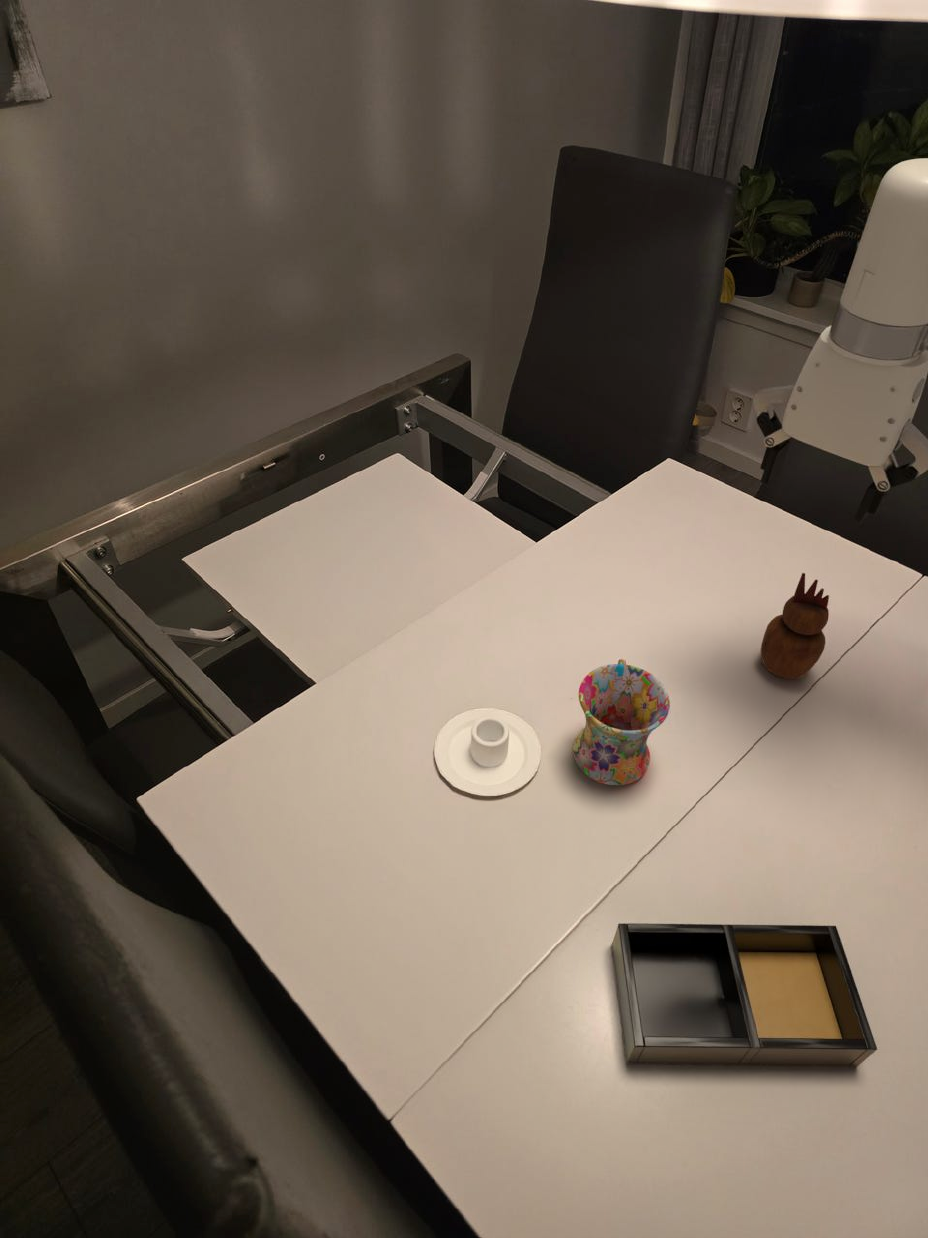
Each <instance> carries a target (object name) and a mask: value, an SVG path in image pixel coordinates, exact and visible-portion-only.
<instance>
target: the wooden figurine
mask: <svg viewBox="0 0 928 1238" xmlns="http://www.w3.org/2000/svg"><path fill="white" fill-rule="evenodd" d="M818 582H819V579H815V580H814V581H813V582H812V583H811V585H810V586H809V588H808V589H807V590H806V573H805V572H802V573H801V576H800V578H799V581H798V582H797V583H798V584H797V586H796V589H795V591H794V595H791V597H790V598H788V600H787V601H786V602H785V603H784V605H783V607H782V614H780V615H776V616H775V617H774V618H772V619H771V620H770V622H768V624H767V626H766V629H765V631H764V635H763V637H762V642H761V645H760V657H761V659H762V663H763V665H764V667H765V668H766V669H767V670H768V671H769V672H770V673H771V674H773V675H774V676H776V677H777V678H778V677H779V678H781V679H785V680H797V679H800V678H802V677H804V676H805V675H807V674H808V672H810V671H811V669H812V668H813V667H814V666H815V665H816V663H817V662H818V661H819V660H820V657H821V656H822V654H823V652H824V650H825V648H826V636H825V634H824V631H823V629H824V628H825V627H826V625H827V624H828V621H829V615H830V614H829V612H830V611H829V608H828V605H829V598H830V595H829V594H827V595H825V596H823V595H824V591H825V588H820V590H819V591H818V592H817V593H816V590H817V586H818ZM805 591H806V592H805Z"/></svg>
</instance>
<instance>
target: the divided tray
mask: <svg viewBox="0 0 928 1238" xmlns="http://www.w3.org/2000/svg"><path fill="white" fill-rule="evenodd" d="M837 927H838V926H837V925H812V924H811V925H809V924H808V925H803V924H797V925H796V924H795V925H794V924H724V923H723V924H720V923H719V924H714V923H713V924H711V923H709V924H708V923H707V924H706V923H638V922H637V923H632V922H631V923H630V922H629V923H620V922H619V923H618V924H617V927H616V930H615V934H614V936H613V939H612V942H611V944H610V945H611V952H612V953H611V954H612V961H613V969H614V976H615V985H616V993H617V1000H618V1009H619V1017H620V1026H621V1032H622V1041H623V1049H624V1056H625V1064H626V1065H645V1066H647V1065H654V1066H655V1065H656V1066H725V1067H726V1066H727V1067H728V1066H732V1067H735V1066H737V1067H748V1066H749V1067H815V1068H817V1067H818V1068H857V1067H859V1066H860V1065H861V1064H863V1063H864V1062H865V1061H866V1060H867V1059H868V1058H870V1057H871V1056H872V1055H873V1054H874V1053H875V1052H876V1051H878V1047H877V1044H876V1041H875V1038H874V1035H873V1032H872V1029H871V1025H870V1023H869V1019H868V1017H867V1014H866V1011H865V1009H864V1008H865V1007H864V1005H863V1002H862V999H861V996H860V993H859V991H858V987H857V984H856V981H855V978H854V975H853V973H852V969H851V966H850V964H849V961H848V957H847V955H846V951H845V948H844V945H843V943H842V939H841V937H840V933H839V930H838V928H837Z"/></svg>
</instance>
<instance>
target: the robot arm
mask: <svg viewBox="0 0 928 1238" xmlns="http://www.w3.org/2000/svg"><path fill="white" fill-rule="evenodd" d="M927 376H928V158H927V157H925V158H923V157H922V158H921V157H920V158H913V159H907V160H904V161H903V160H902V161H901V162H899V163H897V164H895V165H892V167H891V168H890V169H888V170H887V171H886V173H885V174H884V176H883V177H882V179H881V180H880V183H879V186H878V188H877V190H876V192H875V197H874V200H873V202H872V205H871V207H870V211H869V214H868V216H867V220H866V223H865V225H864V229H863V231H862V234H861V238H860V240H859V243H858V247H857V249H856V253H855V255H854V258H853V261H852V264H851V267H850V270H849V273H848V276H847V278H846V281H845V285H844V288H843V291H842V293H841V296H840V299H839V302H838V304H837V308H836V311H835V314H834V317H833V319H832V323H831V325H829V326H826V328H825V329H823V331H822V332H821V334H820V335H819V337H818V339H817V340H816V341H815V343H814V345H813V347H812V349H811V351H810V353H809V354H808V356H807V359H806V361H805V363H804V364H803V367H802V369H801V371H800V373H799V375H798V378H797V380H796V382H795V383H794V384H788V385H781V386H780V385H779V386H774V387H773V386H772V387H766V388H761V389H760V390H758V391H756V393H755V394H753V397H752V399H753V405H754V409H755V414H756V415H757V417H756V423H757V426H758V427H759V429H760V431H761V433H762V434H763V437H764V438H763V444H764V445H765V447H766V449H765V450H764V454H763V458H762V461H761V464H760V470H762V471H763V472H762V475H761V478H760V483H762V484H764V485H766V484H769V483H771V482H772V481H773V480H774V479H775V478H776V477H777V476H778V475H779V474H780V473H781V471H782V468H783V467H784V466H783V465H784V462H785V460H786V457H787V455H788V450H789V448H790V445H791V441H790V440H791V438H793V439H795V440H797V441H800V442H802V443H804V444H807V445H810V446H812V447H815V448H817V449H820V450H822V451H825V452H827V453H829V454H833V455H836V456H838V457H841V458H843V459H846V460H849V461H852V462H855V463H857V464H860V465H864V466H867V467H868V470H869V473H870V476H871V477H872V482H871V483H870V484H869V485H868V487H867V489H866V490H865V493H864V496H863V497H862V499H861V502H860V504H859V506H858V509H857V511H856V513H855V515H854V518H853V520H855V522H856V523H858V524H862V523H863V522H864V521H865V520H866V518H867V517H868V516H869V515H873V516H876V515H877V513H878V512H879V511H880V509H881V508H882V506H883V504H884V501H885V499H886V497H887V495H888V492H889V490H890V489H891V488H894V487H897V486H901V485H903V484H907V483H910V482H913V481H914V480H915V479H916V478H918V477H919V476H920V475H922V474H924V473H925V472H927V471H928V438H927V436H925V435H924V433H922V432H921V431H920V430H919V429H918V428H917V427H916V426H915V425H914V424H913V423H912V421H913V419H914V417H915V413H916V411H917V408H918V405H919V403H920V400H921V397H922V394H923V391H924V388H925V384H926V381H927ZM779 403H780V404H781V403H786V407H785V410H784V412H783V416H782V421H780V419H779V417H778V415H777V413H776V411H775V409H774V404H779ZM902 445H903V446H904V447H905V448H906V449H907V450H908V452H910V453H911V454H912V455H913V456H914V458H915V459H914V460H913V461H911V462H908V463H905V464H902V465H899V463H898V462H897V459H896V456H895V453H894V452H893V451H898V450H899V448H900V447H901V446H902Z"/></svg>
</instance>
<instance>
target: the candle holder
mask: <svg viewBox="0 0 928 1238" xmlns="http://www.w3.org/2000/svg"><path fill="white" fill-rule="evenodd" d="M436 736H437V737H436V738H435V741H434V747H433V755H434V760H435V764H436V767H437V769H438V772H439V773H440V775H441V776H442V777H443V778H444V779H445V780H446V781H447V782H448V783H449V784H450V785H451V786H453V787H454V788H456V789H457V790H460V791H462V792H465V793H468V794H472V795H475V796H480V797H482V796H483V797H497V796H503V795H508V794H510V793H513V792H515V791H517V790H519V789H520V788H522V787H524V786H525V785H527V783H528V782H530V780H531V779H533V777H534V776H535V775H536V773H537V771H538V769H539V767H540V764H541V760H542V747H541V742H540V740H539V737H538V735H537V733H536V732H535V730H534V729H533V728H532V726H531V725H530V724H529V723H528V722H527V721H526V720H525V719H523V718H521V717H520V716H518V715H517V714H514V713H512V712H509V711H507V710H504V709H500V708H494V707H479V708H474V709H473V708H472V709H469V710H466V711H463V712H461V713H458V714H457V715H455V716H453V717H452V718H451V719H449V720H448V721H447V722H446V723H445V724H444V725H443V726H442V727H441V729H440V730H439V732H438V734H437V735H436Z"/></svg>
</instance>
